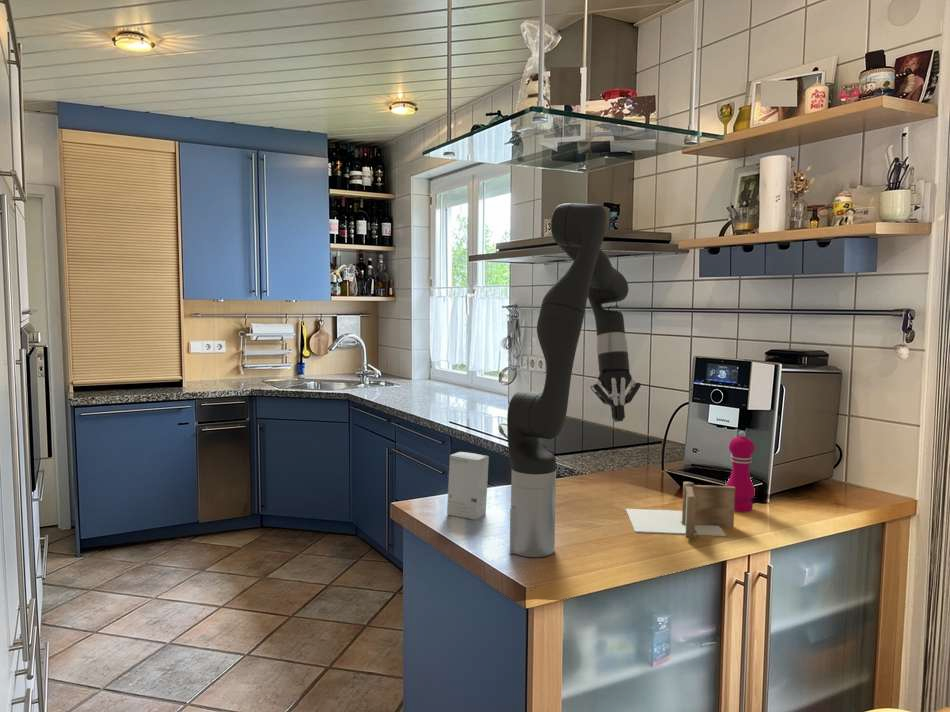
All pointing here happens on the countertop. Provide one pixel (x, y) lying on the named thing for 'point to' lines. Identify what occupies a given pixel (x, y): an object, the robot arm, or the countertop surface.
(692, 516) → the swing panel
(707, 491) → the fixed fence
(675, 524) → the card
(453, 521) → the countertop surface
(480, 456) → the skincare box
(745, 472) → the pepper mill
